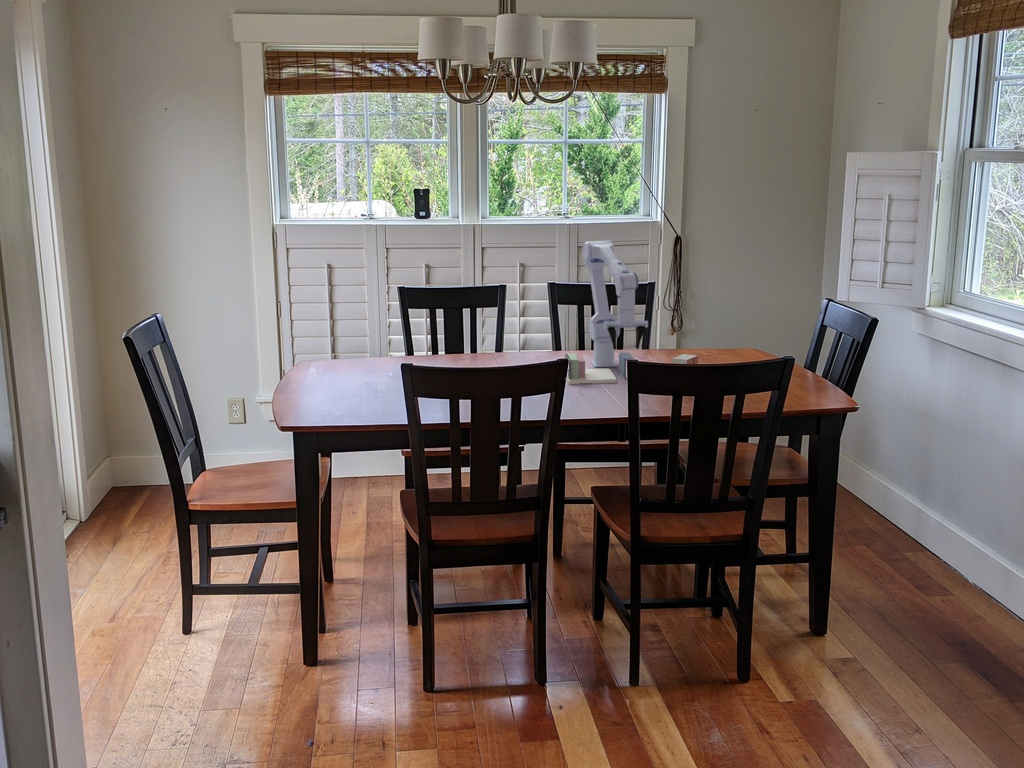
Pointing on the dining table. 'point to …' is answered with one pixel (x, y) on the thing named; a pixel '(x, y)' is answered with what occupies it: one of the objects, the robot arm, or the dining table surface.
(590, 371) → the shelf board
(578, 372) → the books
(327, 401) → the dining table surface
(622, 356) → the slate book
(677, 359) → the small box
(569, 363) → the bookend
